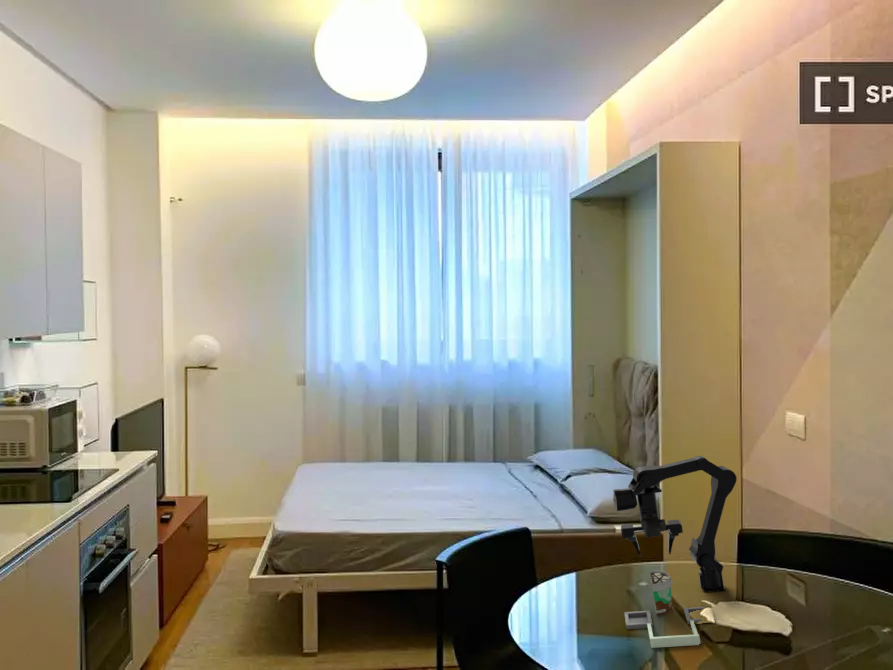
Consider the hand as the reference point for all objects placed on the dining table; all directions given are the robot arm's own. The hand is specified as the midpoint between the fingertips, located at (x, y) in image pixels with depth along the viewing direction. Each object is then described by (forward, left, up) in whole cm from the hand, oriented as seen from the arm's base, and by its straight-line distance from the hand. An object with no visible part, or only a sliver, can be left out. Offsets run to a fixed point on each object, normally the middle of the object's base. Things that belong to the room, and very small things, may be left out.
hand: (654, 555), depth 239 cm
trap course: (-1, +25, -13) cm, 28 cm away
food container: (0, +10, -13) cm, 17 cm away
